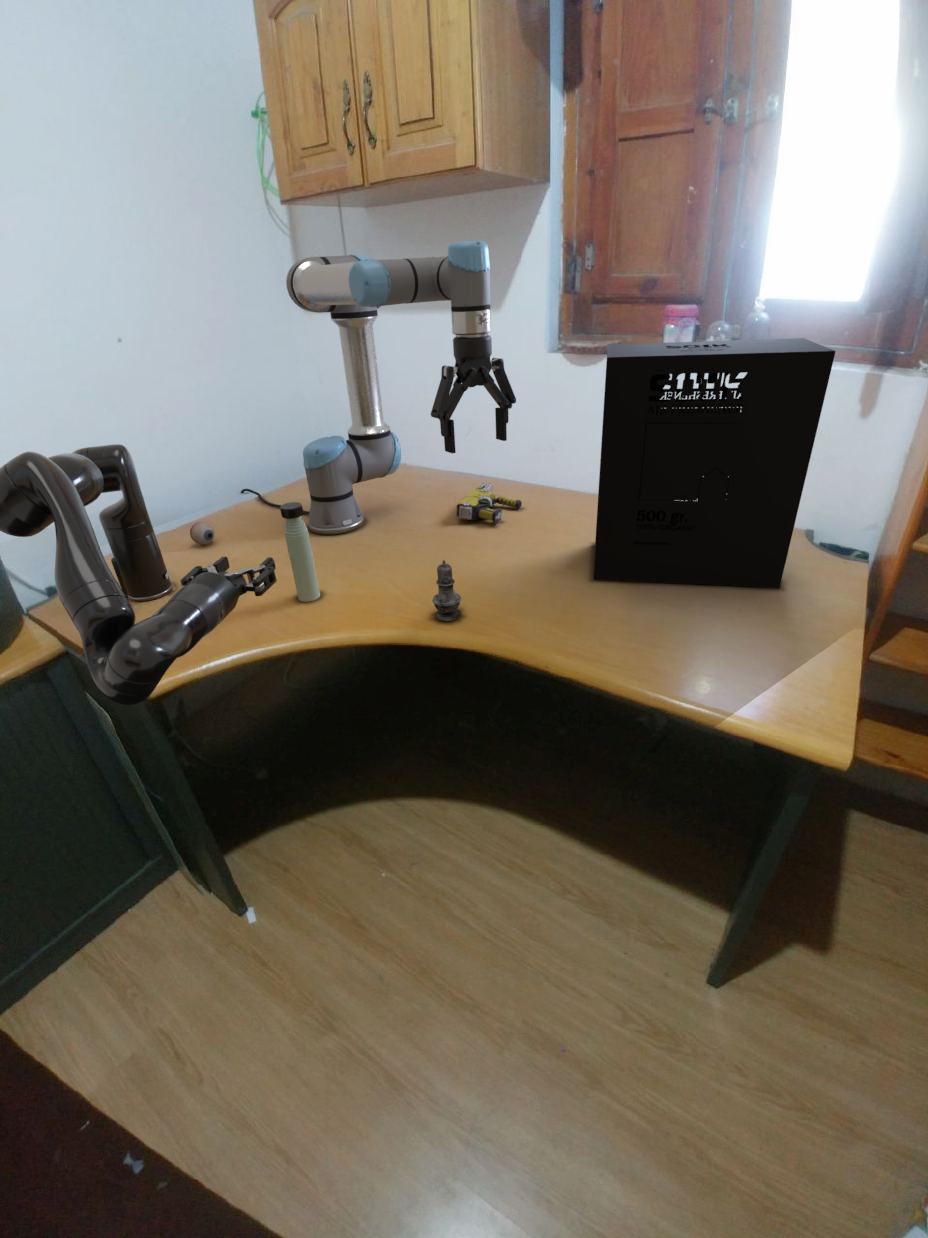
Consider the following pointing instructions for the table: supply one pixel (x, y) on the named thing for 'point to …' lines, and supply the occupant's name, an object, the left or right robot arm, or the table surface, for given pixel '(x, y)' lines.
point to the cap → (291, 510)
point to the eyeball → (202, 533)
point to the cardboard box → (706, 459)
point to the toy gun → (483, 505)
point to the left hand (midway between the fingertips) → (248, 561)
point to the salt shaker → (446, 595)
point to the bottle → (301, 559)
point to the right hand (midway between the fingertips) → (476, 445)
